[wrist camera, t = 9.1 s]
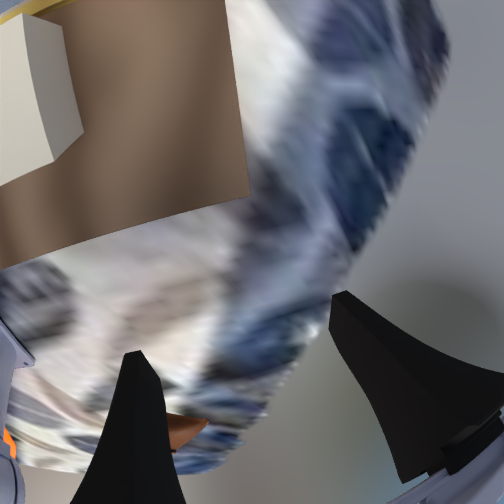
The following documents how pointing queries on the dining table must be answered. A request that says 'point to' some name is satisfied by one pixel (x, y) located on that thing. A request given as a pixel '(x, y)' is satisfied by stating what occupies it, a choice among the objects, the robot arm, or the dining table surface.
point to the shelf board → (132, 124)
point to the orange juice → (10, 443)
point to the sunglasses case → (183, 429)
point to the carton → (34, 96)
